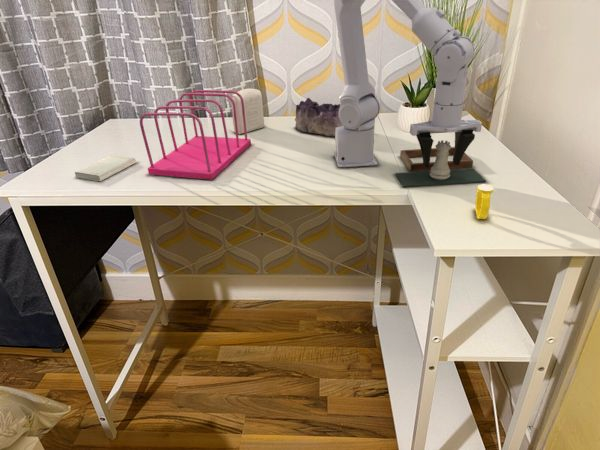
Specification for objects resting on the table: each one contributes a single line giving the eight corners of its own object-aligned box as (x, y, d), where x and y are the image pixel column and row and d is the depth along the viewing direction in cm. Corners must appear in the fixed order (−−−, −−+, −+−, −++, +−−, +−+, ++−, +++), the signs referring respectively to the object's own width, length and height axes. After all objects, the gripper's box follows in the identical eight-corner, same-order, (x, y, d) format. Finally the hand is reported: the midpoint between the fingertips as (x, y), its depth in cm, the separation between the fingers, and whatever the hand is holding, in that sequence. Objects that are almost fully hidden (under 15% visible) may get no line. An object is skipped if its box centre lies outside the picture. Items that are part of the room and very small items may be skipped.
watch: (470, 207, 84) (475, 179, 81) (485, 208, 83) (491, 180, 80) (474, 223, 79) (479, 193, 76) (490, 224, 78) (496, 194, 75)
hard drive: (99, 175, 103) (134, 157, 113) (74, 171, 106) (111, 154, 116) (100, 182, 104) (136, 163, 114) (76, 178, 107) (112, 159, 117)
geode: (285, 134, 128) (284, 100, 125) (302, 128, 138) (302, 96, 134) (350, 139, 120) (350, 101, 116) (363, 132, 129) (364, 97, 126)
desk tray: (410, 171, 100) (410, 164, 99) (400, 156, 109) (400, 150, 108) (472, 167, 101) (473, 160, 100) (457, 153, 109) (458, 146, 108)
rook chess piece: (450, 181, 94) (455, 146, 90) (429, 180, 95) (433, 145, 91) (449, 173, 98) (453, 139, 94) (428, 172, 98) (432, 138, 94)
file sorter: (148, 175, 106) (132, 112, 98) (196, 141, 127) (187, 87, 119) (212, 180, 101) (201, 114, 93) (251, 144, 122) (245, 87, 114)
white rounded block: (258, 124, 139) (254, 85, 132) (266, 127, 136) (263, 86, 130) (232, 132, 132) (227, 91, 126) (240, 135, 130) (235, 93, 124)
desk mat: (403, 187, 93) (403, 185, 93) (395, 174, 99) (395, 173, 99) (485, 182, 93) (485, 180, 93) (472, 169, 100) (473, 168, 99)
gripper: (418, 109, 84) (413, 173, 91) (492, 105, 85) (481, 169, 91) (409, 100, 90) (404, 161, 97) (477, 96, 91) (468, 157, 97)
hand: (440, 164), depth 95 cm, fingers open, 6 cm apart
